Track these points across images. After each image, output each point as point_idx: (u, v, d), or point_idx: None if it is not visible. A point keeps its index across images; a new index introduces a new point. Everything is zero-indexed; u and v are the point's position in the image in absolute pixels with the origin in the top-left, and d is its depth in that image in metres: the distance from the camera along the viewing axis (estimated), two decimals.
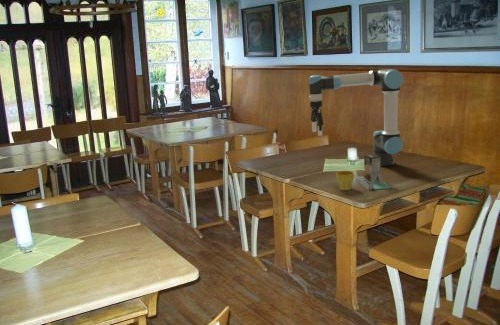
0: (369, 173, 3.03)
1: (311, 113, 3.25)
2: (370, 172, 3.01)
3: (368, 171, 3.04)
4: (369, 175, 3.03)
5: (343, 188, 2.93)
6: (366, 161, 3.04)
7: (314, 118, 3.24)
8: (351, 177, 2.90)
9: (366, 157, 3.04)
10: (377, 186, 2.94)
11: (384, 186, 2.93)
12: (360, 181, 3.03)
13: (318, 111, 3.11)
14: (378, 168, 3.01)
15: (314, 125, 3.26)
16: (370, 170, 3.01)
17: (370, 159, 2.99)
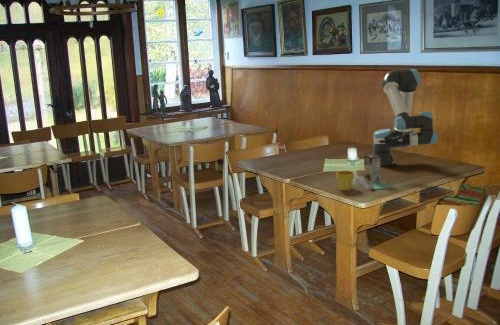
0: (369, 173, 3.03)
1: (394, 142, 2.97)
2: (370, 172, 3.01)
3: (368, 171, 3.04)
4: (369, 175, 3.03)
5: (343, 188, 2.93)
6: (366, 161, 3.04)
7: None
8: (351, 177, 2.90)
9: (366, 157, 3.04)
10: (377, 186, 2.94)
11: (384, 186, 2.93)
12: (360, 181, 3.03)
13: None
14: (378, 168, 3.01)
15: None
16: (370, 170, 3.01)
17: (370, 159, 2.99)
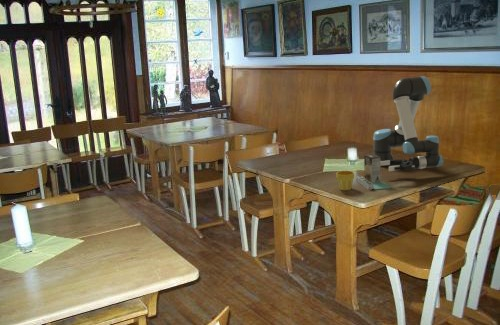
0: (369, 173, 3.03)
1: None
2: (370, 172, 3.01)
3: (368, 171, 3.04)
4: (369, 175, 3.03)
5: (343, 188, 2.93)
6: (366, 161, 3.04)
7: None
8: (351, 177, 2.90)
9: (366, 157, 3.04)
10: (377, 186, 2.94)
11: (384, 186, 2.93)
12: (360, 181, 3.03)
13: None
14: (378, 168, 3.01)
15: None
16: (370, 170, 3.01)
17: (370, 159, 2.99)
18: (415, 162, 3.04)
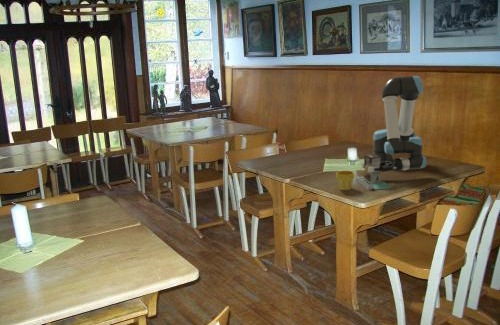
0: (369, 173, 3.03)
1: None
2: (370, 172, 3.01)
3: None
4: (369, 175, 3.03)
5: (343, 188, 2.93)
6: (366, 161, 3.04)
7: None
8: (351, 177, 2.90)
9: (366, 157, 3.04)
10: (377, 186, 2.94)
11: (384, 186, 2.93)
12: (360, 181, 3.03)
13: None
14: None
15: None
16: None
17: (370, 159, 2.99)
18: (398, 163, 3.03)
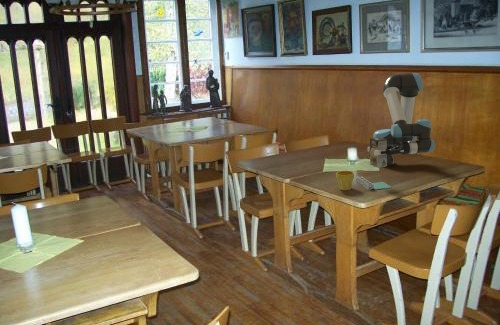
0: (375, 156, 2.90)
1: (396, 153, 2.87)
2: (376, 155, 2.89)
3: None
4: (375, 159, 2.90)
5: (343, 188, 2.93)
6: (372, 144, 2.91)
7: None
8: (351, 177, 2.90)
9: (372, 140, 2.91)
10: (377, 186, 2.94)
11: (384, 186, 2.93)
12: (360, 181, 3.03)
13: None
14: None
15: None
16: None
17: (376, 142, 2.87)
18: (405, 147, 2.90)
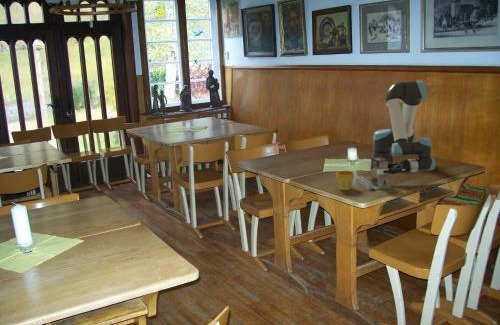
0: (376, 177, 2.92)
1: (398, 172, 2.88)
2: (377, 176, 2.91)
3: (375, 175, 2.93)
4: (376, 179, 2.92)
5: (343, 188, 2.93)
6: (373, 164, 2.93)
7: None
8: (351, 177, 2.90)
9: (373, 160, 2.93)
10: None
11: None
12: (360, 181, 3.03)
13: None
14: None
15: None
16: None
17: (377, 162, 2.89)
18: (406, 165, 2.92)
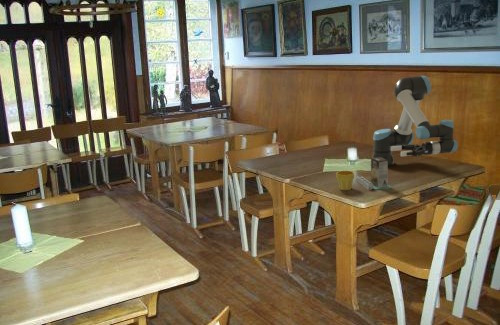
0: (376, 177, 2.92)
1: (421, 154, 2.87)
2: (377, 176, 2.91)
3: (375, 175, 2.93)
4: (376, 179, 2.92)
5: (343, 188, 2.93)
6: (373, 164, 2.93)
7: None
8: (351, 177, 2.90)
9: (373, 160, 2.93)
10: None
11: None
12: (360, 181, 3.03)
13: None
14: (385, 172, 2.90)
15: None
16: (377, 174, 2.90)
17: (377, 162, 2.89)
18: (428, 147, 2.91)
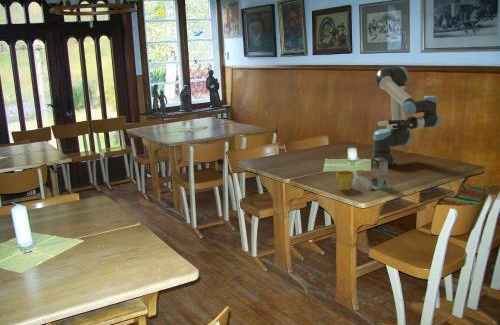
0: (376, 177, 2.92)
1: (406, 127, 3.05)
2: (377, 176, 2.91)
3: (375, 175, 2.93)
4: (376, 179, 2.92)
5: (343, 188, 2.93)
6: (373, 164, 2.93)
7: None
8: (351, 177, 2.90)
9: (373, 160, 2.93)
10: None
11: None
12: (360, 181, 3.03)
13: None
14: (385, 172, 2.90)
15: None
16: (377, 174, 2.90)
17: (377, 162, 2.89)
18: (413, 121, 3.09)
